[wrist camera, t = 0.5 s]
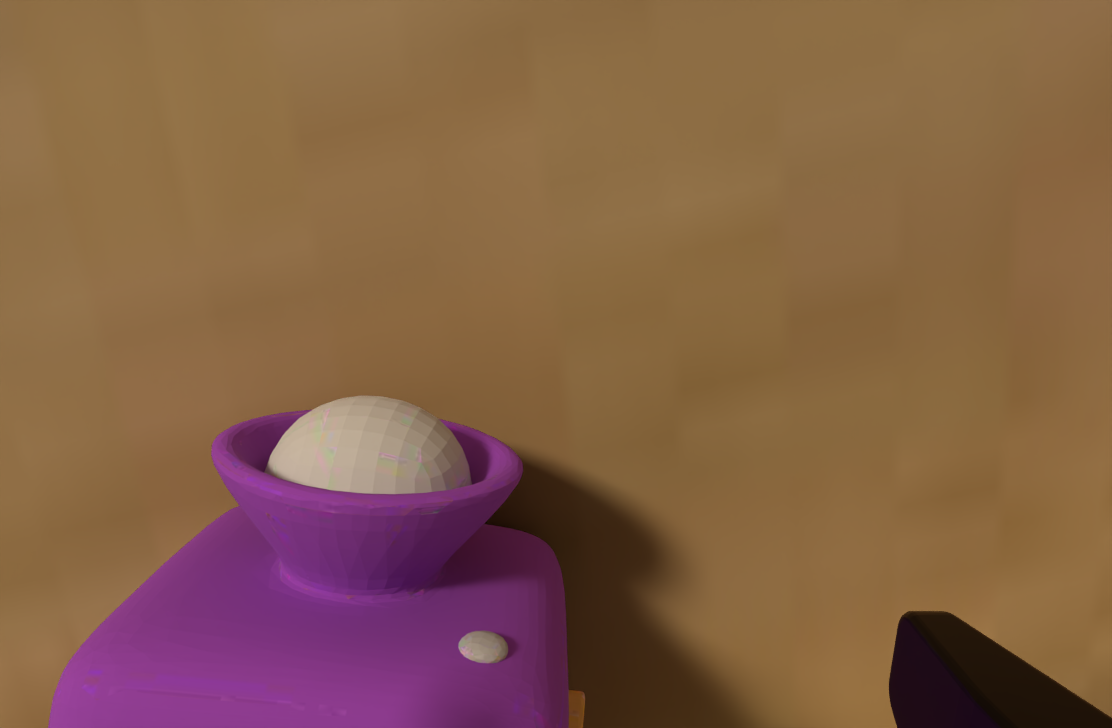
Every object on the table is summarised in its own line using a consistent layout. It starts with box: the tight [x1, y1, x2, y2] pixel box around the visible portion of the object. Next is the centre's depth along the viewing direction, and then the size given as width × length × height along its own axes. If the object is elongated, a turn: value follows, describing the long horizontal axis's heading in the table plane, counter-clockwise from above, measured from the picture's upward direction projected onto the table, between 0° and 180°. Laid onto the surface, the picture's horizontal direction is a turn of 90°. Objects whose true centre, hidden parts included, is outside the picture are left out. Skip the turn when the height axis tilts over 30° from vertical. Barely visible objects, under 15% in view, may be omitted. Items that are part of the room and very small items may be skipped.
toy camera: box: [48, 396, 585, 728], centre depth 19 cm, size 11×14×10 cm
